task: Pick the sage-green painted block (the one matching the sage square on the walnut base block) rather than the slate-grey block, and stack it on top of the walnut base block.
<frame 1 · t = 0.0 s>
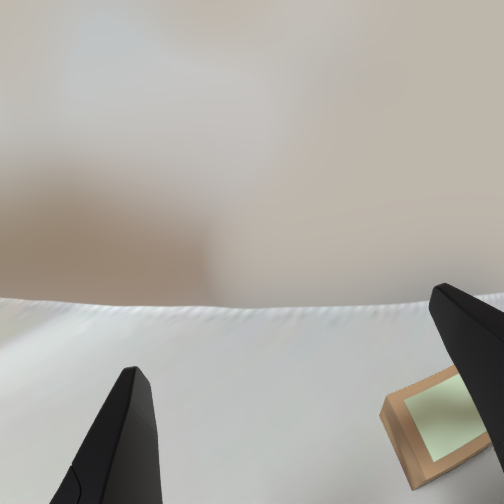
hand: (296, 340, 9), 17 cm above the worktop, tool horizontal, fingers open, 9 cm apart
base block: (435, 433, 18), on the worktop
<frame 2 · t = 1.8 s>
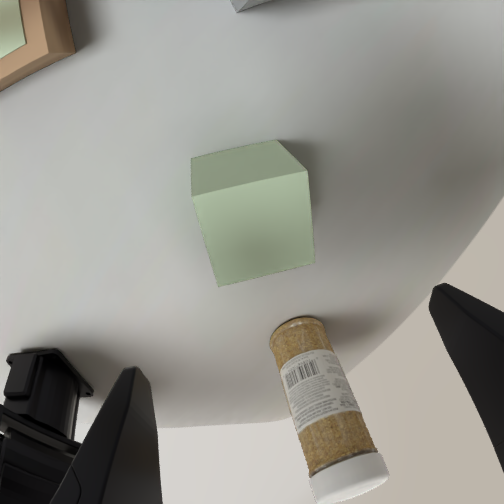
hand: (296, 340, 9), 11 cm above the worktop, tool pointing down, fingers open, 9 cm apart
base block: (7, 25, 9), on the worktop
sage block: (241, 186, 17), on the worktop
sprinkles bottle: (296, 333, 25), on the worktop
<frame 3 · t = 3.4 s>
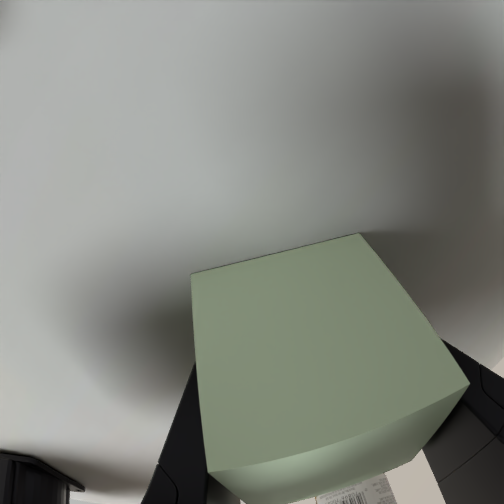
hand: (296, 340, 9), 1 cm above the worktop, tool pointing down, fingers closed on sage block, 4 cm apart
sage block: (286, 314, 9), on the worktop, touching gripper
sprinkles bottle: (334, 440, 17), on the worktop
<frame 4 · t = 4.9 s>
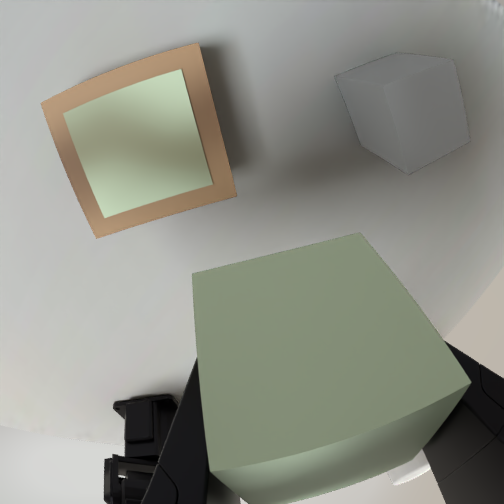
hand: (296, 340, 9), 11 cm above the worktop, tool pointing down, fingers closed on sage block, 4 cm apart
base block: (147, 130, 15), on the worktop
sage block: (287, 313, 9), point 10 cm above the worktop, touching gripper
slate block: (379, 97, 16), on the worktop
sprinkles bottle: (363, 361, 31), on the worktop
when the fingers open (6 cm above the worktop, at t = 6.4 s): sage block drops 2 cm, resting on base block.
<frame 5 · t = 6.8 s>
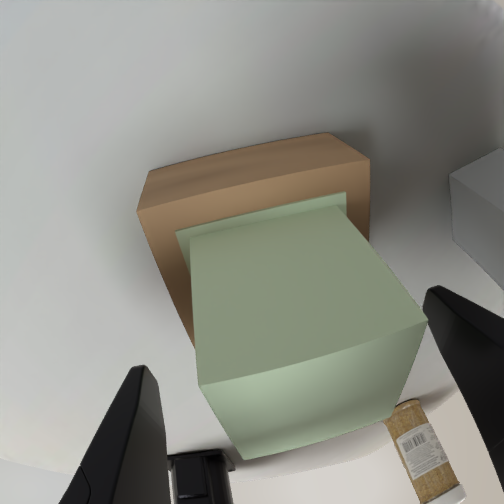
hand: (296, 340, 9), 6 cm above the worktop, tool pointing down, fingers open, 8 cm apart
base block: (255, 227, 14), on the worktop
sage block: (273, 278, 11), point 3 cm above the worktop, touching base block
slate block: (477, 193, 15), on the worktop
sprinkles bottle: (400, 408, 29), on the worktop
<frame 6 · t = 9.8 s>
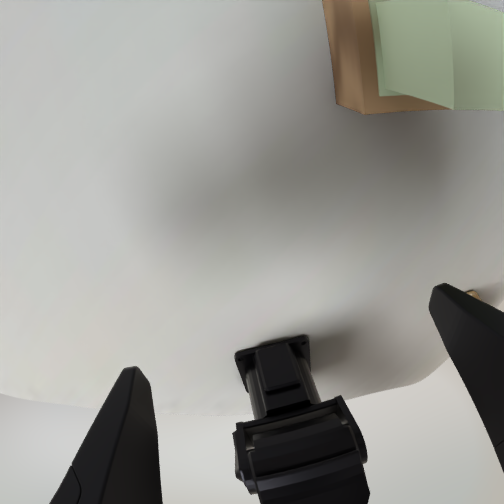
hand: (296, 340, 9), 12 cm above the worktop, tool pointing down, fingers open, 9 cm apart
base block: (382, 45, 15), on the worktop
sage block: (417, 47, 12), point 3 cm above the worktop, touching base block
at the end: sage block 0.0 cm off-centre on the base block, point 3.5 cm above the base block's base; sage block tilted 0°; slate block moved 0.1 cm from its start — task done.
